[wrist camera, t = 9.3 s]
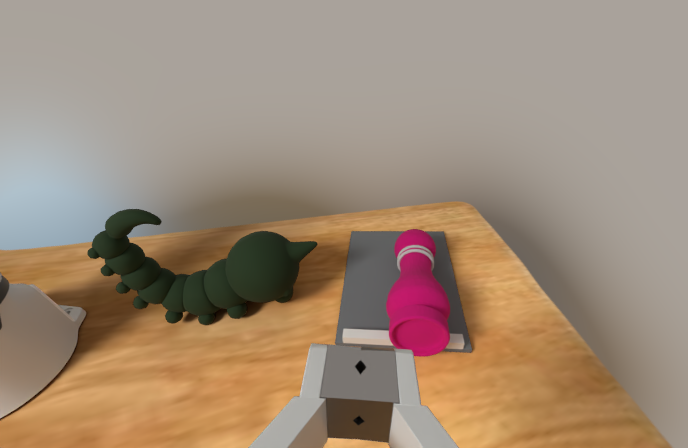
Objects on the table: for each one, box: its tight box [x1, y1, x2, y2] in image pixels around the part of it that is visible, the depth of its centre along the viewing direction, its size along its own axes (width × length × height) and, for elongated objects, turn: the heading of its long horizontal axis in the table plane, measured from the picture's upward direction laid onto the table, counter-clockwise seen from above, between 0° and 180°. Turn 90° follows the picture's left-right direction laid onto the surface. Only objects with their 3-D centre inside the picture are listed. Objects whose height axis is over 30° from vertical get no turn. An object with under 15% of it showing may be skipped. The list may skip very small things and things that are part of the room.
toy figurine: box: [88, 209, 317, 325], centre depth 39 cm, size 9×19×25 cm
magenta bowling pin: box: [386, 229, 450, 356], centre depth 40 cm, size 7×7×20 cm
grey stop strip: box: [342, 329, 465, 349], centre depth 36 cm, size 1×14×2 cm, turn 83°
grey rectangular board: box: [335, 231, 472, 353], centre depth 45 cm, size 22×16×1 cm
